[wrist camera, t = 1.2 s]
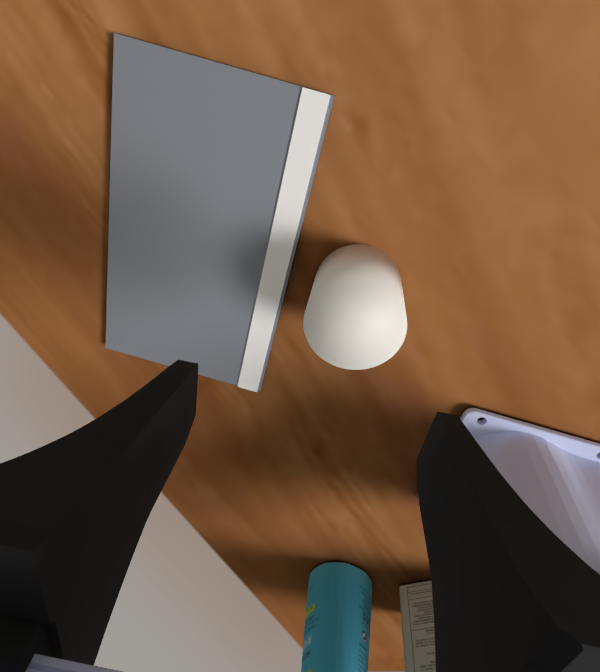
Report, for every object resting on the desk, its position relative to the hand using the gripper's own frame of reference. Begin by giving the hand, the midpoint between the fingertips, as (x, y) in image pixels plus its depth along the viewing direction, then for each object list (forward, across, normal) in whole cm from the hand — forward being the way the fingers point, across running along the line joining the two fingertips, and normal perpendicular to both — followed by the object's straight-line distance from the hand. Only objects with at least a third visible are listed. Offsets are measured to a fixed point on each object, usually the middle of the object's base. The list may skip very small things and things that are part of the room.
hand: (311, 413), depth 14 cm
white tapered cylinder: (+11, -2, +1) cm, 11 cm away
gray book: (+11, +7, 0) cm, 13 cm away
